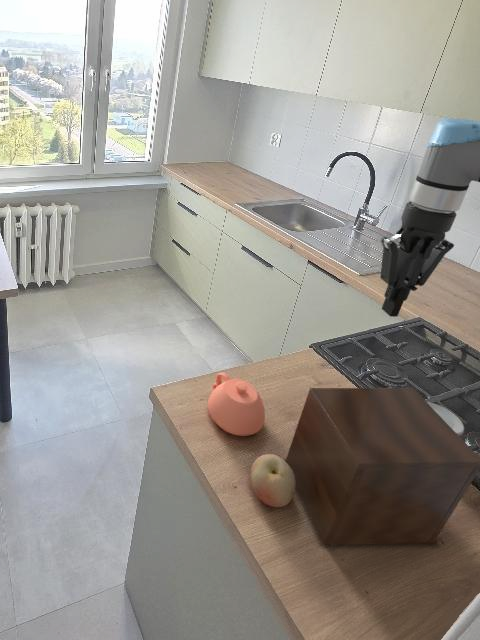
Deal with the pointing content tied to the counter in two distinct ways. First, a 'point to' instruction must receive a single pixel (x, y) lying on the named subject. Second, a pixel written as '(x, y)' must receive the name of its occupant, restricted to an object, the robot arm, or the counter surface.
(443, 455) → the block
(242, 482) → the counter surface
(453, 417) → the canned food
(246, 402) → the sugar bowl
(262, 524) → the counter surface
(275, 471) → the fruit
